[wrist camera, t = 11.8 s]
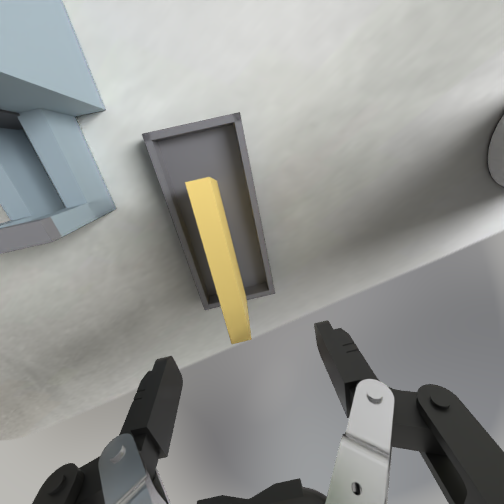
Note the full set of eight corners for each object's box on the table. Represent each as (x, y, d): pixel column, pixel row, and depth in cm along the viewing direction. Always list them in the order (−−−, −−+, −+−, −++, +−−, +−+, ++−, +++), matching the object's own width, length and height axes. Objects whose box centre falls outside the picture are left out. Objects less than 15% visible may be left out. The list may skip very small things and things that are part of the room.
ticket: (216, 180, 19) (209, 176, 13) (246, 297, 22) (251, 339, 16) (200, 184, 19) (185, 182, 13) (232, 300, 22) (231, 344, 16)
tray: (238, 116, 18) (239, 112, 16) (271, 282, 24) (275, 293, 23) (150, 135, 18) (141, 134, 16) (206, 297, 24) (204, 310, 22)
